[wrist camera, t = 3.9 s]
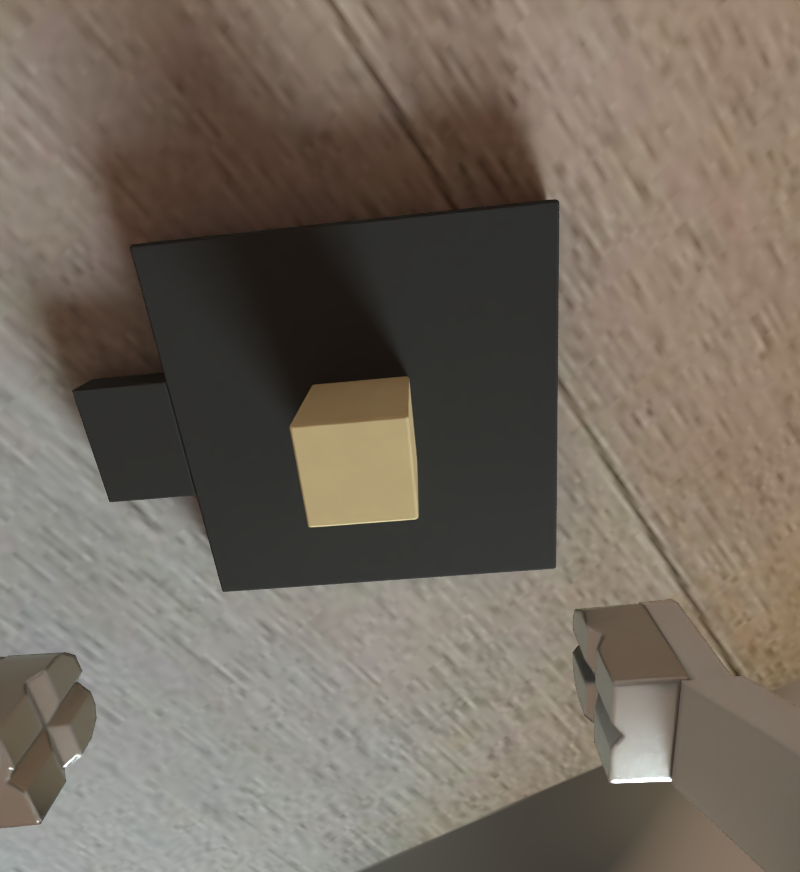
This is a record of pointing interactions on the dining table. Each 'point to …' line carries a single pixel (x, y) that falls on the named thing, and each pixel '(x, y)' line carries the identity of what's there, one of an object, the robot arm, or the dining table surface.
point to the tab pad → (348, 330)
